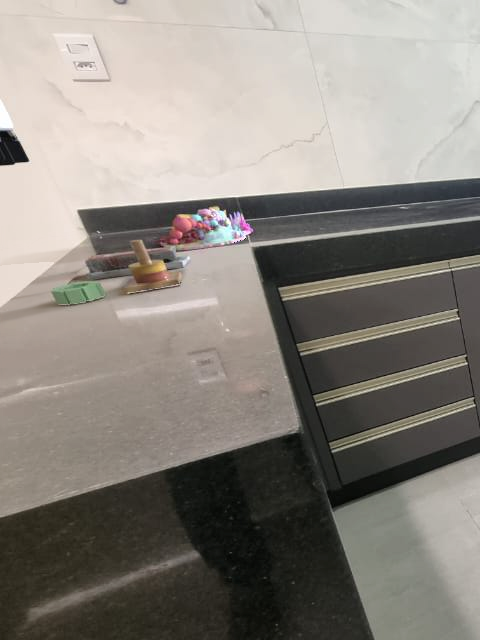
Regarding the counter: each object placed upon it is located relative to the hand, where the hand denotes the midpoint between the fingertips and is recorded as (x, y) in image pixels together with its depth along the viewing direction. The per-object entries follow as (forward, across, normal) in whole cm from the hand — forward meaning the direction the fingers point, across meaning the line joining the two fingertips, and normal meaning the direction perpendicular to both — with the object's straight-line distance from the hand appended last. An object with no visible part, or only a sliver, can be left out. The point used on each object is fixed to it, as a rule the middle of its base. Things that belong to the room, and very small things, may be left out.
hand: (11, 164), depth 101 cm
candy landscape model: (+26, -49, +22) cm, 60 cm away
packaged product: (+26, -17, +9) cm, 33 cm away
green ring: (+26, +6, +1) cm, 27 cm away
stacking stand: (+26, +4, +13) cm, 30 cm away
